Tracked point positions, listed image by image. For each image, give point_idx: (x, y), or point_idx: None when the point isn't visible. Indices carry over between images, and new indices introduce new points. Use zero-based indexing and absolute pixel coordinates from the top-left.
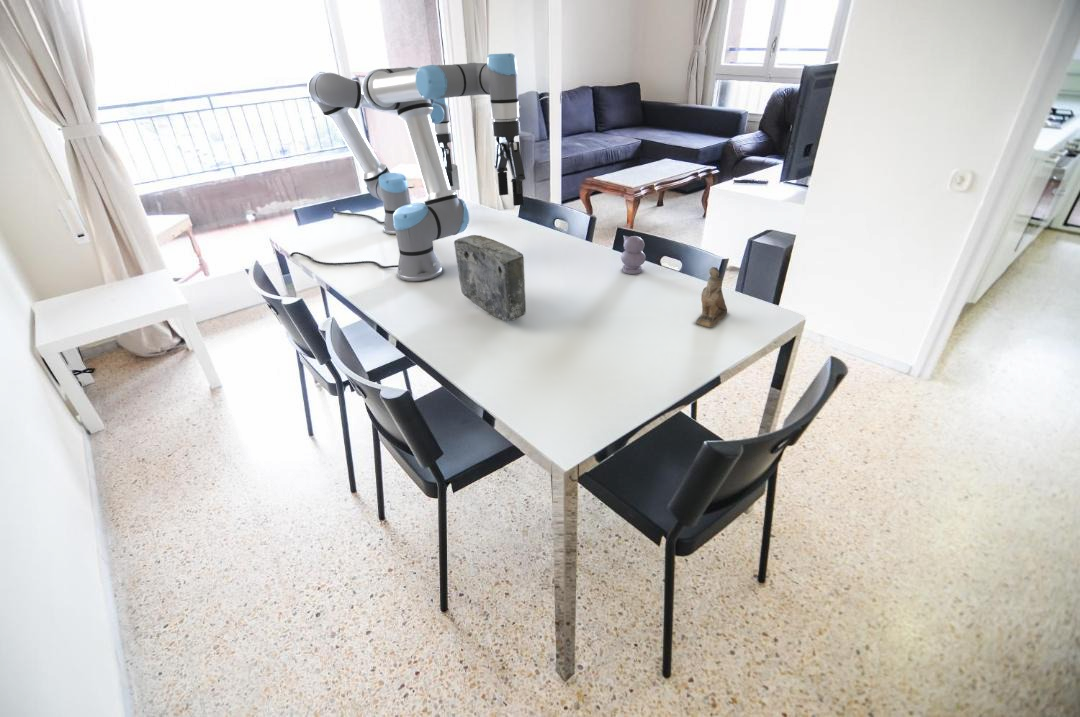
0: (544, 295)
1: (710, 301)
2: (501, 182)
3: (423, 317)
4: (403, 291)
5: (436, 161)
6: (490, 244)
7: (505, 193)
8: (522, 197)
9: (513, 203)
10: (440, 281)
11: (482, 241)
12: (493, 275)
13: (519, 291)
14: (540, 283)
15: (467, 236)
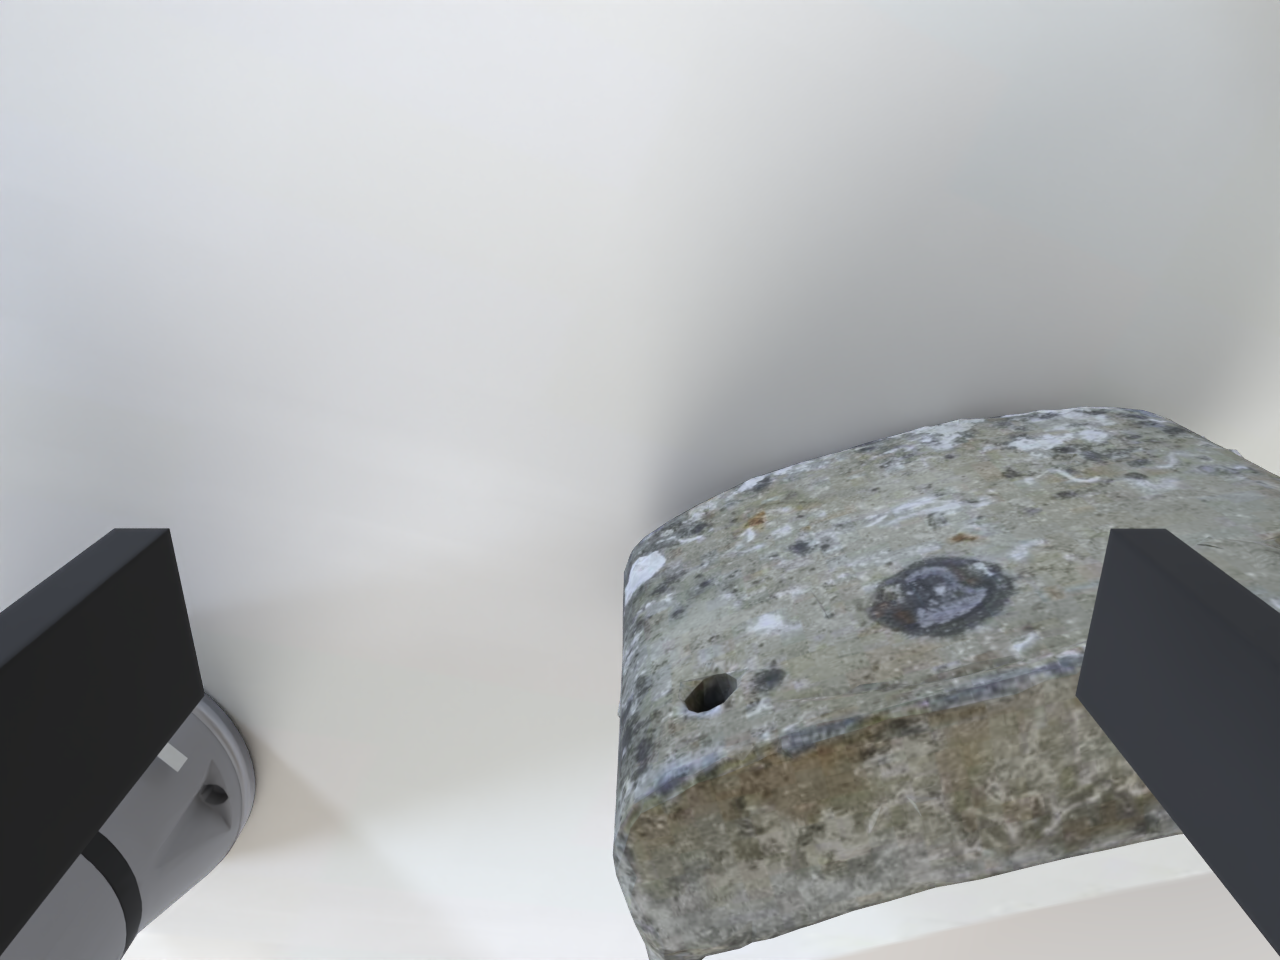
0: (815, 127)
1: None
2: (29, 842)
3: None
4: (372, 873)
5: None
6: (1012, 772)
7: (165, 599)
8: (1256, 611)
9: (1100, 717)
10: (289, 687)
11: (874, 808)
12: None
13: None
14: (588, 65)
15: (641, 882)
